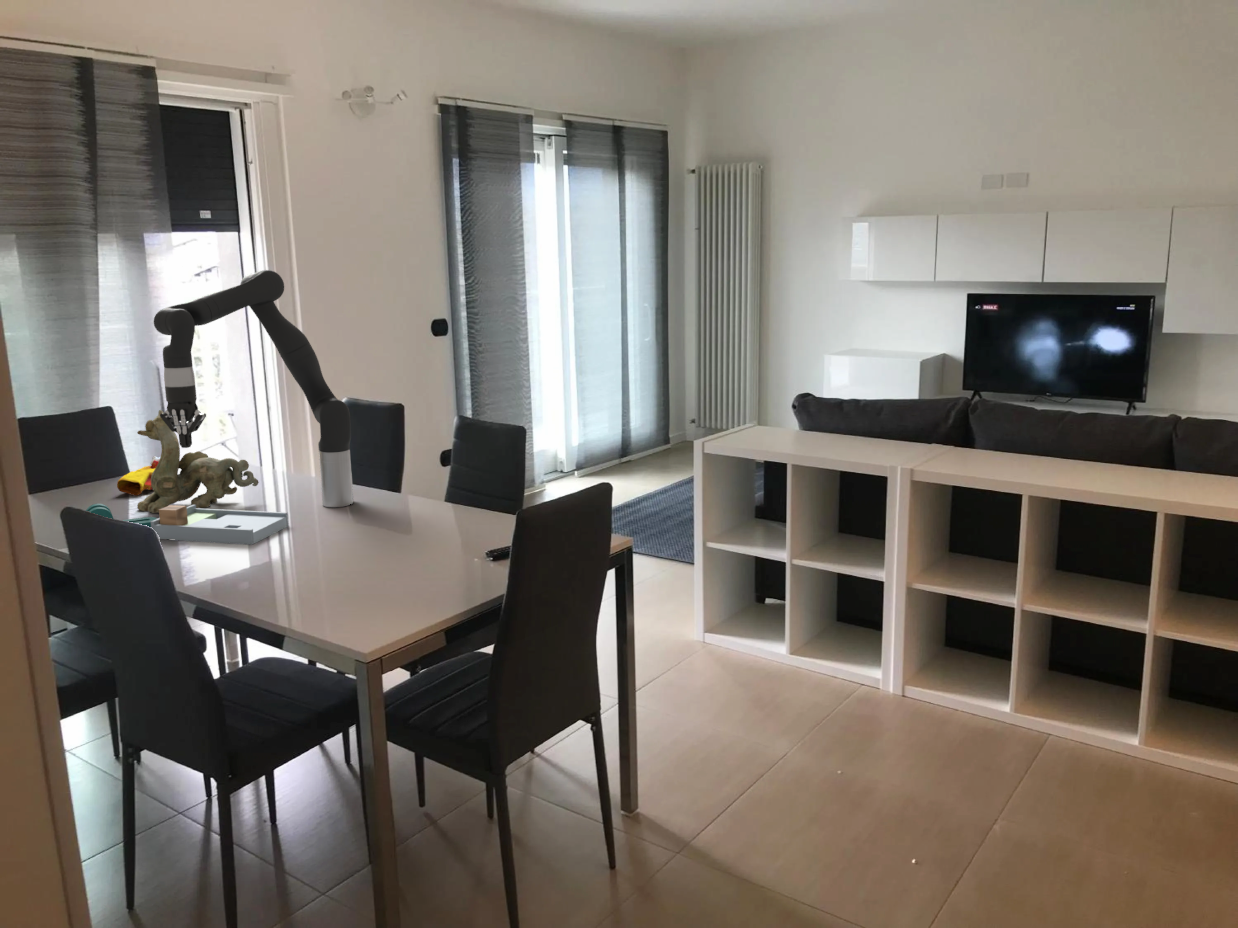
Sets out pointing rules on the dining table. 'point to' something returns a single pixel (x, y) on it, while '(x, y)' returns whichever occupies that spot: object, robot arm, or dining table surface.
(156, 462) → the toy
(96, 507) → the bracket
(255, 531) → the tray
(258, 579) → the dining table surface
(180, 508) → the block
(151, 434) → the sculpture
